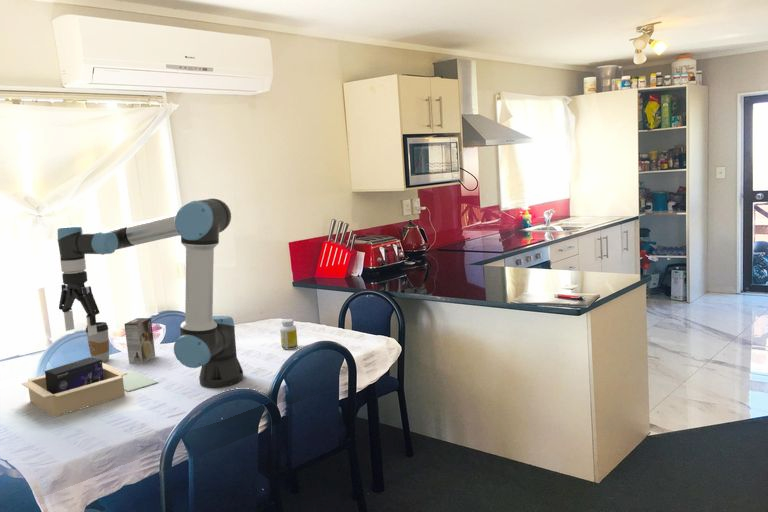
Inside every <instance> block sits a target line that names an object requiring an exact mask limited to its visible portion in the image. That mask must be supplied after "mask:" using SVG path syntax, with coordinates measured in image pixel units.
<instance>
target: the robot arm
mask: <svg viewBox="0 0 768 512" xmlns="http://www.w3.org/2000/svg"><path fill="white" fill-rule="evenodd" d="M231 221H232V213H231V209H230V207H229V206H228V204H226V203H225V202H224V201H223V200H220V199H217V198H208V199H200V200H192V201H190V202H188V203H187V202H186V203H185V204H183V205H182V206H180V208H178V210H177V211H176V213H173V214H168V215H165V216H160V217H156V218H151V219H148V220H144V221H139V222H134V223H131V224H126V225H122V226H118V227H114V228H113V227H112V228H107V229H102V230H96V231H83V229H82V226H81V225H75V224H74V225H65V226H63V225H62V226H60V227H58V229H57V243H58V249H59V256H60V257H59V258H60V259H59V260H60V267H61V272H62V274H61V276H62V284H61V287H60V288H61V292H60V299H59V303H58V304H59V305H58V309H59V310H60V311H62V313H63V317H64V327H65V331H66V332H68V331H73V330H75V324H74V323H75V322H74V313H73V308H72V307H73V304H74V303H75V302H74V301H75V300H77V301H78V302H79V303H80V305H81V306H82V308H83V309H84V312H85V313H86V316H85V317H86V328H87V327H88V335H89V336H90V335H94V334H97V328H96V322H97V320H96V319H97V318H96V316H97V315H99V314H100V310H99V307H98V305H97V303H96V302H97V301H96V300H95V297H94V295H93V291H92V287H91V286H89V285H88V286H86V285H85V283H87V282H88V273H87V271H86V269H87V266H86V265H87V264H86V256H85V255H103V256H104V255H107V254H108V255H110V254H114V253H115V251H117V250H121V249H126V248H130V247H133V246H138V245H141V244H147V243H152V242H156V241H160V240H166V239H168V238H173V237H176V236H177V237H178V236H180V243H181V244H182V245H183V246H184V247H185V307H184V308H185V309H184V310H185V311H184V312H185V313H184V315H185V316H184V321H182V322H181V323H180V327H179V328H180V331H179V337H178V338H176V340H175V342H174V345H173V353H174V356H175V357H176V360H177V361H179V363H180V364H181V365H183V366H185V367H186V368H190V369H197V368H200V367H201V368H200V373H199V376H198V377H199V378H198V380H199V384H200V385H201V387H206V388H223V387H229V386H232V385H236V384H238V383H240V382H242V381H243V379H244V371H243V368H242V366H241V364H240V361H239V359H238V356H237V343H236V342H237V341H236V329H235V328H236V326H235V322H234V318H233V317H231V316H229V315H228V316H227V315H213V312H214V311H213V310H214V309H213V307H214V306H213V304H214V303H213V302H214V262H215V260H214V259H215V258H214V254H215V253H214V251H215V247H217V246H218V245H219V244H220V243H219V242H220V233H222V232H224V231H225V230H226V229H227V228H228V227H229V226H230V223H231Z"/></svg>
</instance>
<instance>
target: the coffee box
mask: <svg viewBox="0 0 768 512" xmlns="http://www.w3.org/2000/svg"><path fill="white" fill-rule="evenodd" d="M124 331H125V340H126V349H127V357H128V364H144V363H146V362H147V361H149V360H151V359H152V358H154V357H156V350H155V341H154V334H153V324H152V318H151V317H137V318H135V319H133V320H129V321H128V322H126V323H124Z"/></svg>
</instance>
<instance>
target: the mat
mask: <svg viewBox="0 0 768 512" xmlns="http://www.w3.org/2000/svg"><path fill="white" fill-rule="evenodd" d="M124 372H125V373H127V375H123V384H124V392H127V393H129V392H132V391H136V390H139V389H142V388H145V387H150V386H153V385H156V384H159V381H157V380H155V379H152V378H150V377H148V376H145V375H143V374H141V373H138V372H136V371H134V370H128V371H124Z"/></svg>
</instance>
